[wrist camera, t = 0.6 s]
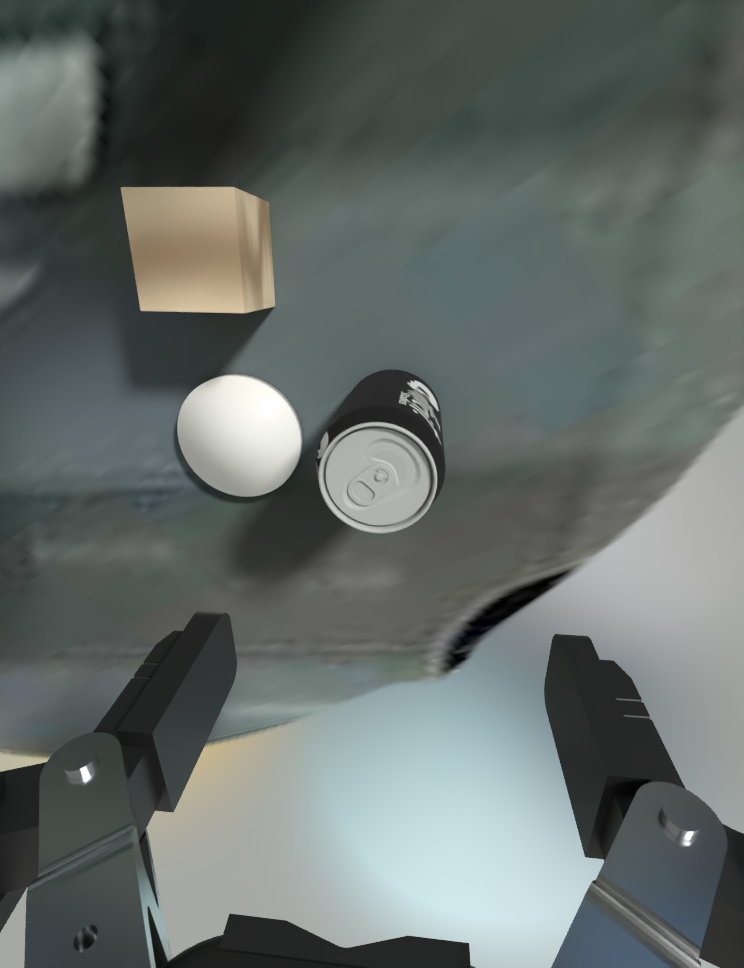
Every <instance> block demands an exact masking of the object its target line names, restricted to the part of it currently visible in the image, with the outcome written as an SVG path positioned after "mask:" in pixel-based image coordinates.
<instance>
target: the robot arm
mask: <svg viewBox="0 0 744 968" xmlns="http://www.w3.org/2000/svg"><path fill="white" fill-rule="evenodd" d="M236 669H237V658H236V652H235V645H234V639H233V633H232V626H231V620H230V617H229V615H228V614H227V613H216V612H200V611H199V612H196V613H195V614H194V616H193V617H192V618H191V620H190V621H189V623H188V624H187V626H186V627H185V629H184V630H183V631H173V632H172V633H171V634H169V635H168V636H167V637H165V638H164V639H163V640H161V641H160V642H159V643H158V644H156V645H155V647H154V648H153V650H152V651H151V652H150V654H149V655H148V656H147V658H146V659H145V661H144V664H143V665H141V666H140V668H139V669H138V670H137V672H136V673H135V675H134V678H133V679H131V680H130V682H129V683H128V684H127V686H126V687H125V689H124V690H123V691H122V693H121V694H120V696H119V697H118V698H117V700H116V701H115V703H114V704H113V705H112V707H111V708H110V710H109V711H108V712H107V714H106V715H105V717H104V718H103V719H102V721H101V722H100V724H99V725H98V726H97V728H96V729H95V730H94V732H93V733H90V734H86V735H83V736H80V737H78V738H76V739H73V740H72V741H70V742H68V743H67V744H65V745H64V746H62V747H61V748H60V749H59V750H57V751H56V752H55V753H54V754H53V755H52V756H51V757H50V759H49V760H48V761H47V762H45V763H41V764H36V765H32V766H27V767H22V768H17V769H12V770H7V771H3V772H0V932H1V930H2V929H3V927H4V925H5V924H6V922H7V920H8V918H9V917H10V915H11V913H12V912H13V910H14V908H15V907H16V904H17V903H18V902H19V900H20V898H21V897H22V895H23V893H24V891H25V890H26V888H27V887H28V890H27V899H26V928H25V962H24V968H475V967H473V966H471V965H470V952H469V943H462V942H453V941H446V940H438V939H430V938H422V937H413V936H405V937H400V938H395V939H390V940H385V941H380V942H375V943H371V944H365V945H361V946H356V947H351V948H343V947H339V946H337V945H335V944H333V943H331V942H329V941H327V940H324V939H322V938H320V937H318V936H316V935H314V934H312V933H310V932H308V931H306V930H304V929H302V928H300V927H298V926H296V925H294V924H292V923H290V922H288V921H284V920H276V919H268V918H260V917H252V916H244V915H236V914H229V917H228V921H227V924H226V927H225V930H224V934H223V935H221V936H217V937H213V938H211V939H208V940H205V941H202V942H200V943H198V944H196V945H194V946H192V947H190V948H188V949H187V950H185V951H183V952H182V953H180V954H179V955H177V956H176V957H174V958H173V957H172V953H171V948H170V944H169V940H168V937H167V932H166V928H165V924H164V919H163V914H162V908H161V904H160V897H159V892H158V887H157V881H156V875H155V870H154V864H153V859H152V853H151V848H150V843H149V837H148V832H147V829H146V827H147V825H148V823H149V821H150V819H151V817H152V815H153V813H154V811H155V810H156V811H165V812H174V810H175V808H176V806H177V803H178V801H179V799H180V797H181V795H182V793H183V791H184V789H185V786H186V784H187V782H188V780H189V778H190V775H191V773H192V771H193V769H194V767H195V765H196V763H197V761H198V758H199V756H200V754H201V752H202V750H203V748H204V746H205V743H206V741H207V739H208V737H209V735H210V733H211V731H212V728H213V726H214V724H215V722H216V720H217V718H218V715H219V713H220V711H221V709H222V707H223V705H224V703H225V700H226V698H227V696H228V694H229V692H230V690H231V688H232V685H233V683H234V679H235V675H236ZM544 692H545V693H544V694H545V705H546V710H547V714H548V718H549V722H550V726H551V729H552V733H553V737H554V741H555V744H556V748H557V752H558V756H559V760H560V763H561V767H562V771H563V775H564V779H565V782H566V786H567V790H568V794H569V798H570V801H571V805H572V809H573V813H574V817H575V820H576V824H577V828H578V831H579V835H580V839H581V843H582V847H583V851H584V854H585V857H588V858H598V859H604V864H603V866H602V868H601V871H600V873H599V875H598V877H597V879H596V880H595V881H593V882H592V883H591V885H590V887H589V888H588V890H587V892H586V894H585V897H584V899H583V901H582V903H581V905H580V907H579V909H578V912H577V914H576V916H575V918H574V920H573V922H572V924H571V927H570V929H569V931H568V933H567V935H566V937H565V939H564V942H563V944H562V946H561V948H560V950H559V952H558V954H557V957H556V959H555V961H554V963H553V965H552V967H551V968H701V963H700V961H699V958H701V959H703V960H705V961H707V962H709V963H712V964H713V965H716V966H718V967H720V968H744V834H743V833H740V832H738V831H736V830H733V829H731V828H729V827H728V826H725V825H724V824H722V823H721V821H720V820H719V818H718V817H717V815H716V814H715V813H714V812H713V810H712V809H711V808H710V807H709V806H708V805H707V804H706V803H705V802H704V801H702V800H701V799H700V798H699V797H697V796H696V795H694V794H693V793H691V792H690V791H688V790H686V788H685V786H684V785H683V783H682V781H681V779H680V777H679V775H678V773H677V771H676V769H675V767H674V765H673V762H672V760H671V758H670V757H669V754H668V753H667V750H666V748H665V746H664V744H663V742H662V740H661V738H660V736H659V734H658V732H657V730H656V728H655V726H654V724H653V722H652V720H650V718H649V713H648V711H647V709H646V707H645V705H644V703H642V702H641V697H640V695H639V693H638V691H637V689H636V687H635V685H634V683H633V681H632V679H631V678H630V677H629V676H628V675H627V674H626V673H625V672H624V671H623V670H622V669H621V668H620V667H619V666H618V665H617V664H616V663H615V662H614V661H610V660H599V657H598V655H597V653H596V651H595V648H594V646H593V644H592V641H591V639H590V638H589V637H587V636H575V635H559V634H555V635H554V637H553V639H552V644H551V650H550V656H549V662H548V667H547V673H546V678H545V687H544Z"/></svg>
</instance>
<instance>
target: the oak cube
mask: <svg viewBox="0 0 744 968" xmlns="http://www.w3.org/2000/svg"><path fill="white" fill-rule="evenodd" d="M121 193H122V199H123V205H124V211H125V218H126V224H127V230H128V236H129V242H130V248H131V255H132V261H133V267H134V273H135V279H136V285H137V292H138V298H139V304H140V310H141V311H166V312H211V313H248V312H253V311H257V310H262V309H266V308H271V307H275V297H274V280H273V264H272V247H271V231H270V214H269V202H267V201H265V200H262V199H260V198H258V197H256V196H253V195H251V194H249V193H247V192H244V191H242V190H240V189H238V188H235V187H121Z"/></svg>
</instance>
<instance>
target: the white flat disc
mask: <svg viewBox="0 0 744 968" xmlns="http://www.w3.org/2000/svg"><path fill="white" fill-rule="evenodd" d="M177 432H178V440H179V444H180V447H181V450H182V453H183V455H184V457H185V459H186V461H187V462H188V464H189V465H190V467H191V468H192V469H193V471H194V472H195V473H196V474H197V475H198V476H199V477H200V478H201V479H202V480H204V481H205V482H206V483H207V484H209V485H210V486H212V487H214V488H216V489H218V490H220V491H222V492H224V493H227V494H231V495H235V496H242V497H252V496H259V495H263V494H266V493H269V492H271V491H273V490H275V489H277V488H278V487H280V486H281V485H282V484H283V483H284V482H285V481H286V480H287V479H288V478H289V477H290V475H291V474H292V472H293V471H294V469H295V468H296V466H297V464H298V462H299V460H300V457H301V453H302V448H303V434H302V428H301V424H300V421H299V418H298V416H297V414H296V412H295V410H294V408H293V406H292V405H291V404H290V402H289V401H288V400H287V398H286V397H285V396H284V395H283V394H282V393H281V392H280V391H279V390H277V389H276V388H275V387H273V386H272V385H270V384H269V383H267V382H265V381H263V380H261V379H258V378H256V377H253V376H249V375H243V374H227V375H221V376H218V377H215V378H213V379H211V380H209V381H207V382H205V383H203V384H201V385H200V386H198V387H197V388H195V389H194V390H193V391H192V392H191V393H190V394H189V396H188V397H187V398H186V400H185V401H184V403H183V405H182V407H181V410H180V413H179V417H178V424H177Z"/></svg>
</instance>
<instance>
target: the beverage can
mask: <svg viewBox="0 0 744 968" xmlns="http://www.w3.org/2000/svg"><path fill="white" fill-rule="evenodd" d="M316 469H317V476H318V480H319V486H320V490H321V494H322V496H323V498H324V500H325V502H326V504H327V505H328V507H329V508H330V510H331V511H332V512H333V513H334V514H335V515H336V516H337V517H338V518H339V519H340V520H342V521H343V522H344V523H346V524H348V525H350V526H351V527H354V528H356V529H358V530H362V531H365V532H370V533H390V532H395V531H398V530H401V529H404V528H406V527H408V526H410V525H412V524H413V523H415V522H416V521H417V520H419V519H420V518H421V517H422V516H423V515H424V514H425V513H426V511H427V510H428V509H429V507H430V506H431V505H432V504H433V502H434V501H435V500H436V498H437V497H438V495H439V493H440V491H441V488H442V485H443V482H444V477H445V456H444V446H443V435H442V424H441V413H440V407H439V403H438V400H437V398H436V396H435V394H434V392H433V391H432V389H431V388H430V387H429V386H428V385H427V384H426V383H425V382H424V381H423V380H422V379H420V378H419V377H417V376H415V375H413V374H411V373H408V372H405V371H401V370H384V371H379V372H376V373H373V374H371V375H369V376H367V377H366V378H364V379H363V380H362V381H360V382H359V383H358V384H357V385H356V387H355V388H354V389H353V391H352V392H351V394H350V395H349V397H348V398H347V400H346V401H345V403H344V405H343V406H342V408H341V409H340V411H339V413H338V414H337V416H336V417H335V419H334V420H333V422H332V424H331V425H330V427H329V428H328V430H327V431H326V433H325V435H324V436H323V438H322V440H321V443H320V445H319V448H318V452H317V458H316Z"/></svg>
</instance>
